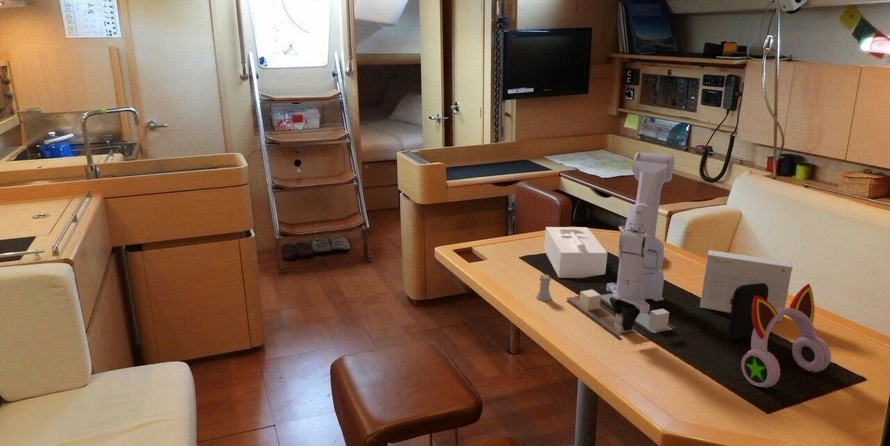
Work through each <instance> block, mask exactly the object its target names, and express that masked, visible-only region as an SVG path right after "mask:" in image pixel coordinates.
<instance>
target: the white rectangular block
mask: <svg viewBox="0 0 890 446" xmlns="http://www.w3.org/2000/svg"><path fill="white" fill-rule="evenodd" d="M544 232H545V233H544V234H545V235H544V248H543V250H544V252H545V254H546V256H547V258H548V260H549V261H550V264H551V265H552V267H553V269H554V271H555V273H556V275H557V277H558V278H559V279H567V278H569V279H583V278H584V279H585V278H589V277H591V278H592V277H595V276H602V275H606V272H607V271H606V269H607V261H608V252H607V250H606V249H605V248H604V247H603V245H601V243H600V242H599V241H598V239H597V238H596V236H595V235H594V234H593V233H592V231H591V230H590V229H589V228H588V227H583V226H582V227H579V226H578V227H576V226H575V227H574V226H570V227H569V226H568V227H567V226H566V227H565V226H545V231H544Z"/></svg>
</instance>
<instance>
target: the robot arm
mask: <svg viewBox="0 0 890 446" xmlns="http://www.w3.org/2000/svg"><path fill="white" fill-rule="evenodd" d="M674 166H675V157H674V155H673V154H669V155H668V154H659V153H651V152H642V151H637V152H636V153H635V154H634V157H633V162H632V174H633V175H634V179H636V180H637V181H638V186H637V191H636V192H637V194H636V200H635V204H633V205H632V206H630V207H629V210H628V213H627V219H626V222H625V225H624V226H625V229H624V232H620V235H619V240H618V256H617V257H618V260H619V261H618V269H617V271H618V272H617V280H616V283H615V282H608V283H606V288H605V289H606V292H609V293H610V292H612V293H613V296H612V297H611V298H610V300H609V301H610V302H611V305H612V307H613V309H612V311H613V312H614V316H616V314H617V313H622V312H623V330H625V331H626V330H631V329H632V326H633V325H634V324H635V323H634V322H635V320H636V318H637V316H638V315H639V314H640V312H641V313H647V312H649V311H650V306H651V305H650V304H649V303H648V302H646V300H649V299H651V300H653V301H655V302H658V301H659V302H660V301H664V297H663V296H662V295H663V289H664V283H665V277H664V276H665V275H664V272H663V270H662V267H663V263H664V256H665V255H664V254H665V252H664V250H665V245H664V243H663V242H662V240H660V239H659V238H658V237H656V232H657V224H658V218H659V217H658V216H659V208H660V200H661V193H662V187H663V185H664V183H669V182H671V180H672V179H673V173H674V168H675V167H674Z"/></svg>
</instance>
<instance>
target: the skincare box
mask: <svg viewBox="0 0 890 446" xmlns="http://www.w3.org/2000/svg"><path fill="white" fill-rule="evenodd" d="M792 271H793V263H792V261H785V260H779V259H773V258H772V259H771V258H766V257H759V256H751V255H745V254H738V253H731V252H724V251H717V250H711V249H709V250H708V252H707V257H706V263H705V270H704V274H703V275H704V276H703V280H702V281H703V282H702V288H701V296H700V304H699V307H700V308H701V309H705V310H706V309H708V310H713V311H719V312H724V313H728V314H730V313H731V307H732V304H730V300H731V298H732V295H733V293H734V292H735V290H736V288H737V287H739V286H741V285H748V284H757V283H765V284H766V285H767V286H768V291H769V292H768V298H767V301H768V302H769V303H770V304H771V305H772V306H773V307H774V308H775V307H781V308H786V303H787V299H788V293H789V288H790V282H791V281H790V280H791V275H792ZM783 321H784V315H783V316H782V317H780V318H779V319H778V320H777V322H779V323H783Z"/></svg>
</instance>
